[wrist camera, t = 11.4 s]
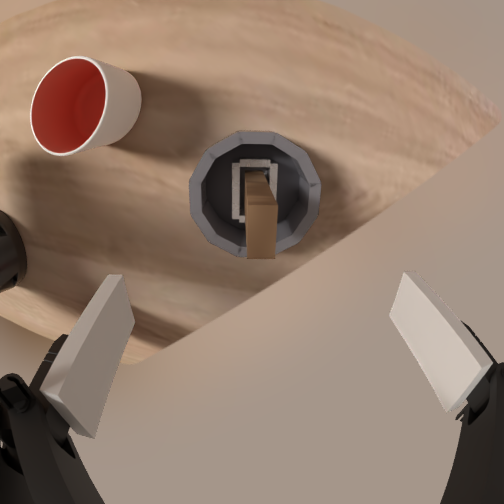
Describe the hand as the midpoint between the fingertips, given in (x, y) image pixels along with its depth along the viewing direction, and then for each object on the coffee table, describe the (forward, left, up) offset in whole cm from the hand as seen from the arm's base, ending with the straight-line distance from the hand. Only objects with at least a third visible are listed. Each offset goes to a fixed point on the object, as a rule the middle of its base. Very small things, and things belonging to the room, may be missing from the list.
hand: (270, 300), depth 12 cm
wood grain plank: (0, 0, -22) cm, 22 cm away
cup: (-18, +11, -23) cm, 31 cm away
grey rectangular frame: (0, 0, -23) cm, 23 cm away
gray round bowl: (0, 0, -23) cm, 23 cm away
